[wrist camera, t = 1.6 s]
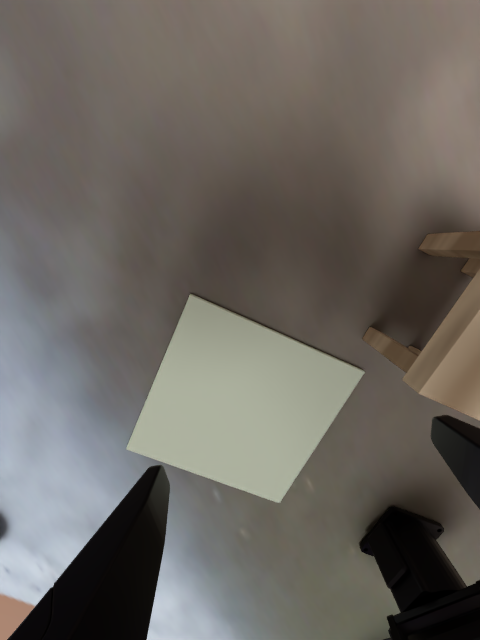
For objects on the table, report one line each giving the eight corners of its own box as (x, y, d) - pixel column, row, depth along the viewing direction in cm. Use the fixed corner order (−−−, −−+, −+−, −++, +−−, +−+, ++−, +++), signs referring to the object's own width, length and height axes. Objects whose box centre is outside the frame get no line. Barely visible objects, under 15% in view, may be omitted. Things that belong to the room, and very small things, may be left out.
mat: (362, 369, 23) (365, 372, 22) (278, 499, 27) (279, 503, 26) (190, 293, 21) (190, 294, 20) (127, 445, 25) (125, 449, 24)
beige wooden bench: (490, 260, 20) (645, 271, 13) (414, 368, 23) (505, 431, 15) (426, 226, 19) (549, 214, 12) (355, 341, 22) (418, 393, 14)
